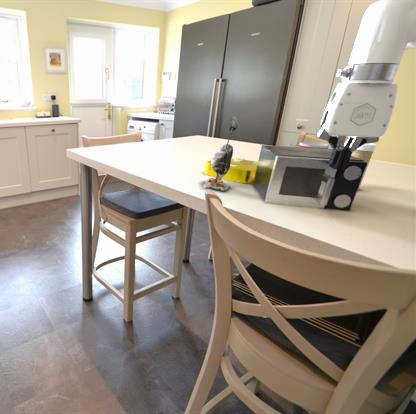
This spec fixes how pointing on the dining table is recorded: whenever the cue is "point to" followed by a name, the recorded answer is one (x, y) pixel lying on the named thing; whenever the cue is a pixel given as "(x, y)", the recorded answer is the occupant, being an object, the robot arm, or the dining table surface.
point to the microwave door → (300, 181)
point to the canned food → (313, 145)
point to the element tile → (236, 170)
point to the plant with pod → (222, 161)
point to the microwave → (344, 179)
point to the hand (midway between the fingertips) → (336, 168)
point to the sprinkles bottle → (364, 155)
